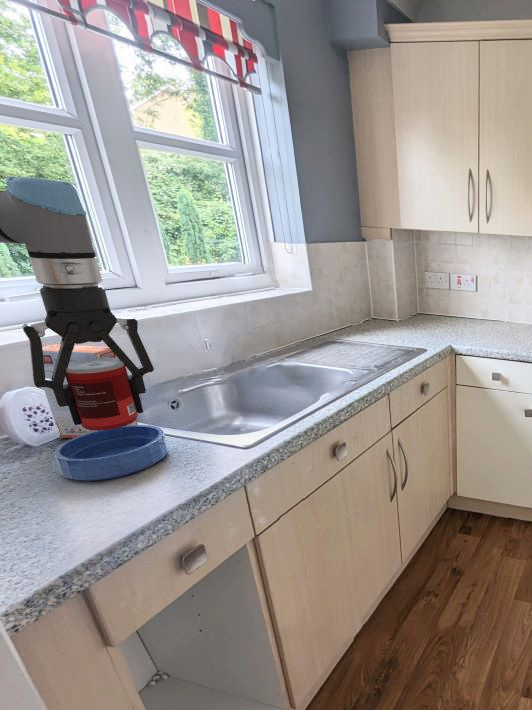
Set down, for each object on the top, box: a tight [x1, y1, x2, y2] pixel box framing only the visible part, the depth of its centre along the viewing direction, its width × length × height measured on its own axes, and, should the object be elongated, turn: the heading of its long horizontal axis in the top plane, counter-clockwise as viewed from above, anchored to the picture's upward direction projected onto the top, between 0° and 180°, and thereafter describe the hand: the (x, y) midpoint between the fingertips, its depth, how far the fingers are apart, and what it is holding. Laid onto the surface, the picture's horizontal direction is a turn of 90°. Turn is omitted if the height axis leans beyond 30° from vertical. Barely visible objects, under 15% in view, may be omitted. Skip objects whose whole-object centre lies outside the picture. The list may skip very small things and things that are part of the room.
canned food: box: [66, 357, 138, 431], centre depth 79 cm, size 8×8×11 cm
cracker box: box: [42, 343, 139, 439], centre depth 102 cm, size 14×6×21 cm, turn 88°
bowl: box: [53, 424, 169, 482], centre depth 93 cm, size 17×17×5 cm
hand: (109, 416), depth 80 cm, fingers closed on canned food, 8 cm apart
